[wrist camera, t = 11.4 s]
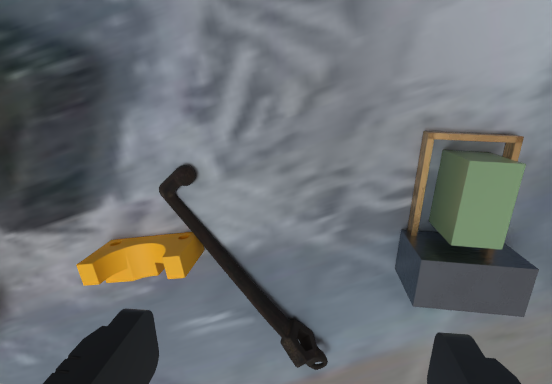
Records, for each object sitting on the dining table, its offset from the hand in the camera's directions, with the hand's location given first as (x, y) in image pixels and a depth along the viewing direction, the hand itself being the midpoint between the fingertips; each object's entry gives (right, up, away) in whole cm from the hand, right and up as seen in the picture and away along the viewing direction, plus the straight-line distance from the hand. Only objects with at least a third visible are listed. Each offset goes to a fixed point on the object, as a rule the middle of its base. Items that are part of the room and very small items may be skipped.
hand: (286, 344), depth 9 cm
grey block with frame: (+19, +3, +25) cm, 32 cm away
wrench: (-3, -5, +31) cm, 31 cm away
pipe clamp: (-15, -3, +31) cm, 35 cm away
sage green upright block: (+19, +5, +25) cm, 32 cm away
